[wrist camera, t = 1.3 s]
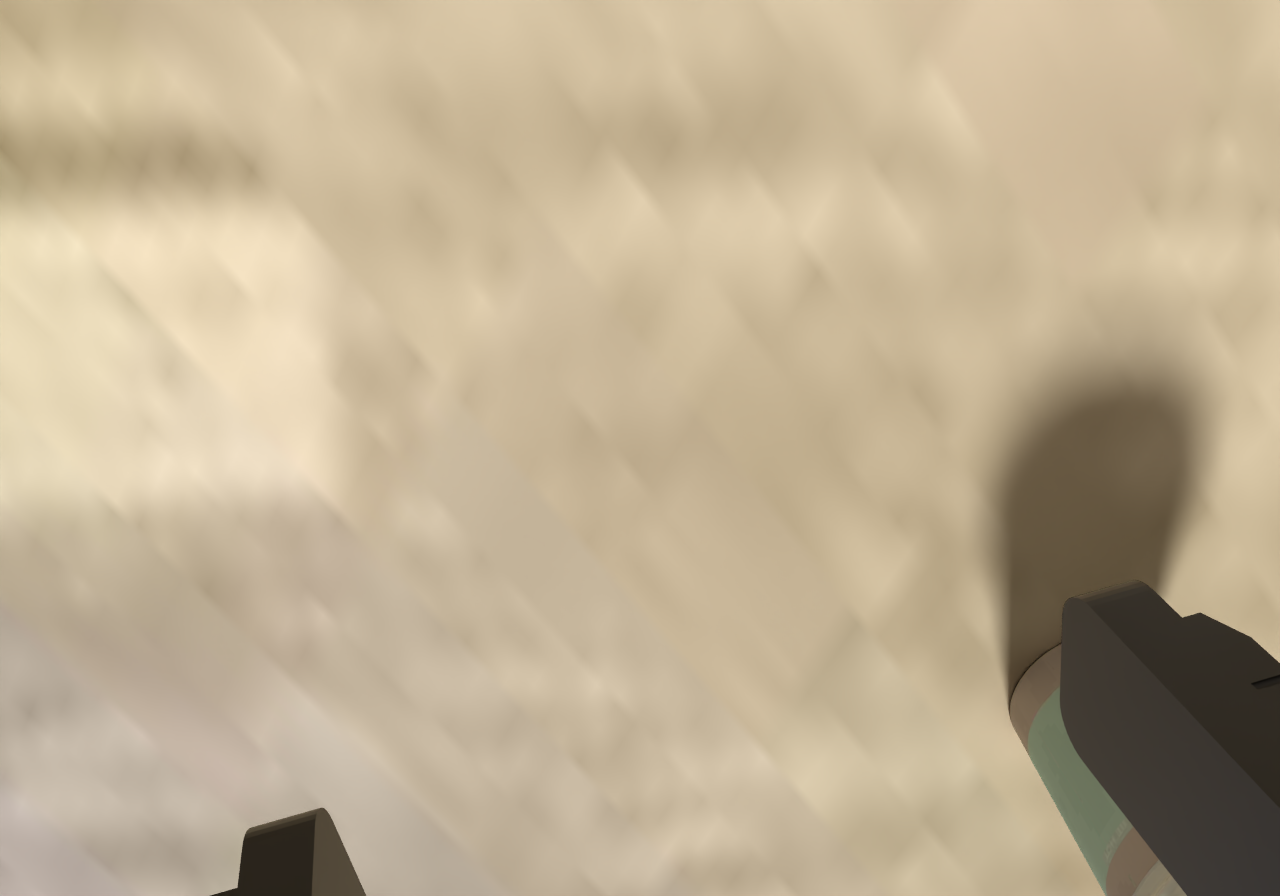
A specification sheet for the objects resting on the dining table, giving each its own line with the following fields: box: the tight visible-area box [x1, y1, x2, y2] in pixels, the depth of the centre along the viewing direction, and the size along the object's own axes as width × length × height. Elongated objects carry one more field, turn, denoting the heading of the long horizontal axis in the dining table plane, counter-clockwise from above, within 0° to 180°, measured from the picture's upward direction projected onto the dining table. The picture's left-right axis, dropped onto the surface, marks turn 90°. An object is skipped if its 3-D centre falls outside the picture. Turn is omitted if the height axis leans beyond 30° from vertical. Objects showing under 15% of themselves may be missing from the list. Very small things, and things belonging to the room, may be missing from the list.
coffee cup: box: [1010, 644, 1187, 896], centre depth 41 cm, size 9×9×12 cm
